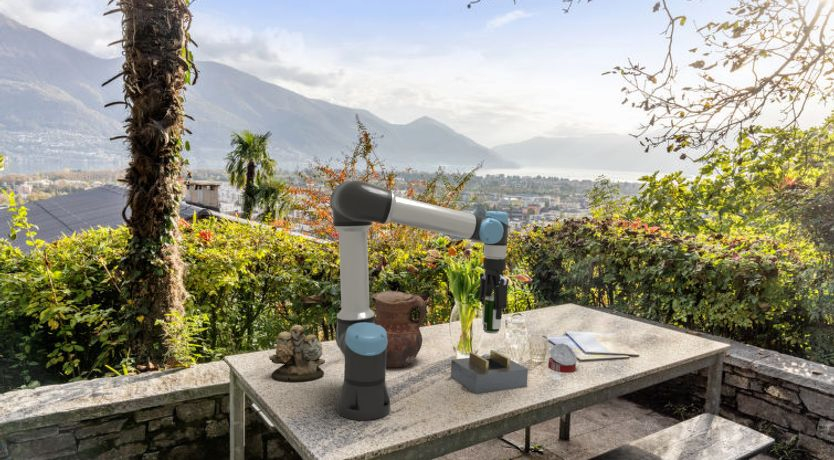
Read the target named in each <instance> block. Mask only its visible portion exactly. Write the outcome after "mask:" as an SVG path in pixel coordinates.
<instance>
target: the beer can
mask: <svg viewBox="0 0 834 460" xmlns="http://www.w3.org/2000/svg"><path fill="white" fill-rule="evenodd" d="M493 308H495V302H494V294H492V295H486V297H485V302H484V321H483V320H482V321H483V324H482V326H483V327H482V330H483V332H484V333H486V334H493V335H495V334H498V333H499V332H500V329H492V326H493Z"/></svg>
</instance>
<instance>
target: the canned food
mask: <svg viewBox="0 0 834 460" xmlns="http://www.w3.org/2000/svg"><path fill="white" fill-rule="evenodd" d="M549 353H550V357H549V358H548V365H547V367H548V369H549V370H551V371H554V372H558V373H564V374H565V373H567V374H569V373H573V372H576V364H577V361H578V360H577V355H576V353H575V351H574V350H573V349H572V347H570V346H569V345H568V344H564V343H557V344H555V345H554V346H552V348H551V349H550V352H549Z"/></svg>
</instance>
